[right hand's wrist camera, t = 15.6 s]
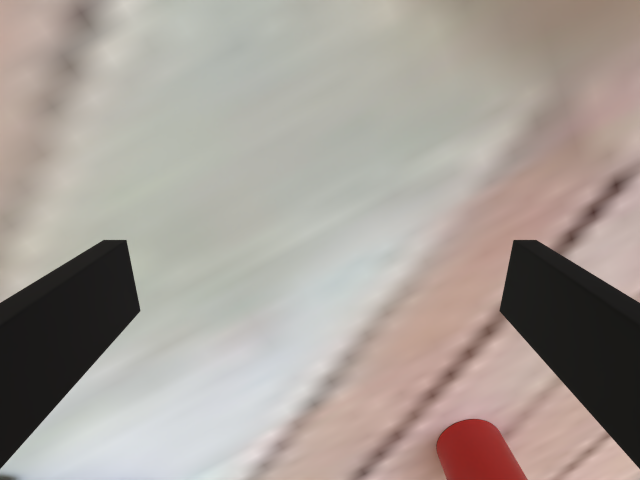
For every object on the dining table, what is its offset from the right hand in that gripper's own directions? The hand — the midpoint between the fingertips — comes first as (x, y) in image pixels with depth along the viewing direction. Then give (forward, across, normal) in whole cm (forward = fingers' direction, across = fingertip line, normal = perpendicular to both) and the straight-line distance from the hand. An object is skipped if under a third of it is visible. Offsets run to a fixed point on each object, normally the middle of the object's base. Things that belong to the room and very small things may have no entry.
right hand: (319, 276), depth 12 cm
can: (+18, +17, -30) cm, 39 cm away
